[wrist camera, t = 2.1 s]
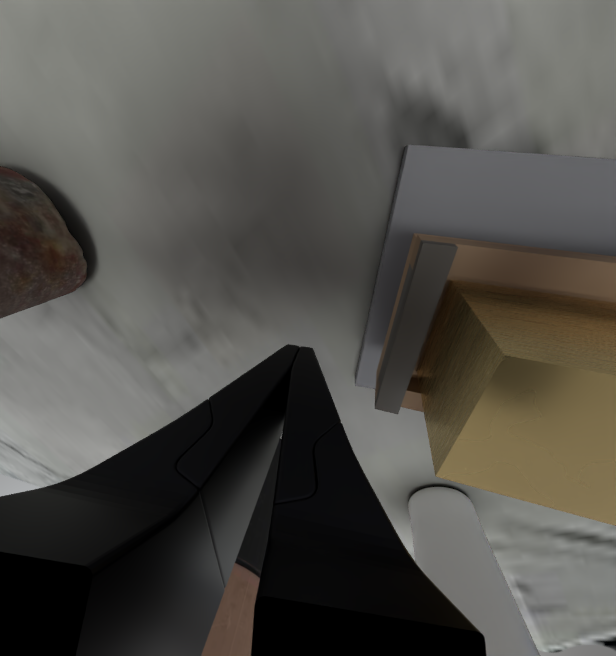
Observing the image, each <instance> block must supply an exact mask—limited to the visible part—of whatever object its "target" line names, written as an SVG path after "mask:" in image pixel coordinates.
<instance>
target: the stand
mask: <svg viewBox="0 0 616 656" xmlns="http://www.w3.org/2000/svg"><path fill="white" fill-rule="evenodd" d="M414 233H418V234H426V235H435V236H443V237H452V238H460V239H469V240H478V241H486V242H495V243H503V244H512V245H520V246H529V247H538V248H546V249H555V250H563V251H572V252H581V253H589V254H598V255H606V256H615V257H616V159H604V158H590V157H576V156H562V155H548V154H534V153H520V152H506V151H492V150H478V149H464V148H450V147H436V146H422V145H407V146H406V147H405V150H404V155H403V160H402V164H401V169H400V173H399V178H398V182H397V187H396V192H395V196H394V201H393V205H392V210H391V215H390V219H389V224H388V228H387V233H386V238H385V242H384V247H383V251H382V256H381V261H380V265H379V270H378V274H377V279H376V284H375V288H374V293H373V297H372V302H371V307H370V311H369V316H368V320H367V325H366V330H365V334H364V339H363V343H362V348H361V353H360V357H359V362H358V366H357V371H356V376H355V386H361V387H367V388H373V389H375V388H376V372H377V368H378V365H379V361H380V357H381V353H382V350H383V346H384V342H385V338H386V335H387V331H388V327H389V324H390V320H391V316H392V312H393V309H394V305H395V301H396V298H397V294H398V290H399V286H400V283H401V279H402V275H403V271H404V268H405V264H406V260H407V257H408V253H409V249H410V245H411V242H412V238H413V234H414Z"/></svg>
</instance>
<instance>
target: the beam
mask: <svg viewBox="0 0 616 656" xmlns="http://www.w3.org/2000/svg"><path fill="white" fill-rule="evenodd" d="M450 279H453V280H459V281H466V282H473V283H480V284H487V285H494V286H501V287H508V288H515V289H522V290H529V291H536V292H543V293H550V294H557V295H564V296H571V297H578V298H585V299H592V300H599V301H606V302H613V303H616V257H615V256H606V255H598V254H589V253H581V252H572V251H563V250H555V249H546V248H538V247H529V246H520V245H512V244H503V243H495V242H486V241H478V240H469V239H460V238H452V237H443V236H435V235H426V234H418V233H414V234H413V238H412V242H411V245H410V249H409V253H408V257H407V260H406V264H405V268H404V271H403V275H402V279H401V283H400V286H399V290H398V294H397V298H396V301H395V305H394V309H393V312H392V316H391V320H390V324H389V327H388V331H387V335H386V338H385V342H384V346H383V350H382V353H381V357H380V361H379V365H378V368H377V372H376V388H375V409H378V410H382V411H386V412H390V413H395V414H398V412H399V410H400V407H404V408H408V409H413V410H417V411H421V412H424V410H423V404H422V398H421V393H420V387H419V382H418V376H417V369H418V366H419V363H420V361H421V358H422V355H423V353H424V350H425V347H426V344H427V342H428V339H429V336H430V334H431V331H432V328H433V325H434V323H435V320H436V317H437V315H438V312H439V309H440V307H441V304H442V301H443V298H444V296H445V293H446V290H447V288H448V285H449V282H450Z"/></svg>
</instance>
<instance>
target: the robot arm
mask: <svg viewBox="0 0 616 656" xmlns="http://www.w3.org/2000/svg"><path fill="white" fill-rule="evenodd" d="M282 431H283V433H282ZM281 434H282V440H281V448H280V455H279V463H278V470H277V477H276V485H275V492H274V500H273V509H272V515H271V522H270V528H269V534H268V541H267V546H266V551H265V556H264V561H263V566H262V571H261V576H260V581H259V586H258V590H257V595H256V600H255V605H254V619H253V633H252V646H251V656H486V645H485V638H484V635H483V634H482V633H481V632H480V631H479V630H478V629H477V628H476V627H475V626H474V625H473V624H472V623H471V622H470V621H469V620H468V619H467V618H466V617H465V615H464V614H463V613H462V612H461V611H460V610H459V609H458V608H457V607H456V606H455V605H454V604H453V603H452V602H451V601H450V600H449V599H448V598H447V597H446V596H445V595H444V594H443V593H442V592H441V591H440V590H439V588H438V587H437V586H436V585H435V584H434V583H433V582H432V581H431V580H430V579H429V578H428V577H427V576H426V575H425V574H424V572H423V571H422V570H421V569H420V567H419V566H418V565H417V564H416V562H415V561H414V560H413V558H412V557H411V555H410V554H409V553H408V551H407V549H406V548H405V546H404V545H403V543H402V541H401V540H400V538H399V536H398V534H397V533H396V531H395V529H394V527H393V525H392V524H391V522H390V520H389V518H388V516H387V514H386V513H385V511H384V509H383V507H382V505H381V503H380V501H379V500H378V498H377V496H376V494H375V492H374V490H373V489H372V487H371V485H370V483H369V481H368V479H367V477H366V476H365V474H364V472H363V470H362V468H361V466H360V464H359V462H358V460H357V458H356V456H355V454H354V452H353V450H352V447H351V445H350V443H349V440H348V438H347V435H346V433H345V430H344V428H343V425H342V423H341V420H340V418H339V415H338V412H337V410H336V407H335V405H334V402H333V399H332V397H331V394H330V392H329V389H328V386H327V384H326V381H325V378H324V376H323V373H322V371H321V368H320V365H319V363H318V360H317V358H316V355H315V352H314V350H313V348H310V347H303V346H302V347H299V346H296V345H289V344H288V345H286V346H284V347H283V348H281V349H280V350H278V351H277V352H275V353H274V354H272V355H271V356H269V357H268V358H267V359H265V360H264V361H262V362H261V363H259V364H258V365H256V366H255V367H253V368H252V369H251V370H249V371H248V372H246V373H245V374H243V375H242V376H240V377H239V378H237V379H236V380H235V381H233V382H232V383H230V384H229V385H227V386H226V387H224V388H223V389H221V390H220V391H218V392H217V393H216V394H214V395H213V396H211V397H210V398H209V400H208V399H207V400H205V401H204V402H202V403H201V404H199V405H198V406H196V407H195V408H193V409H192V410H190V411H189V412H187V413H186V414H184V415H183V416H181V417H180V418H178V419H176V420H175V421H173V422H171V423H170V424H168V425H166V426H165V427H163V428H161V429H160V430H158V431H156V432H155V433H153V434H151V435H149V436H148V437H146V438H144V439H142V440H140V441H139V442H137V443H135V444H133V445H132V446H130V447H128V448H126V449H125V450H123V451H121V452H119V453H118V454H116V455H114V456H112V457H111V458H109V459H107V460H105V461H104V462H102V463H100V464H98V465H97V466H95V467H93V468H91V469H89V470H87V471H85V472H83V473H81V474H79V475H77V476H75V477H72V478H70V479H68V480H65V481H62V482H60V483H57V484H54V485H50V486H47V487H43V488H39V489H35V490H30V491H25V492H20V493H16V494H11V495H6V496H1V497H0V656H201V655H202V652H203V649H204V646H205V644H206V641H207V638H208V635H209V633H210V630H211V627H212V624H213V622H214V619H215V616H216V613H217V611H218V608H219V605H220V602H221V600H222V597H223V594H224V591H225V589H224V588H225V587H226V585H227V583H228V580H229V577H230V574H231V572H232V569H233V566H234V563H235V561H236V558H237V555H238V552H239V550H240V547H241V544H242V541H243V539H244V536H245V533H246V530H247V528H248V525H249V522H250V519H251V516H252V514H253V511H254V508H255V505H256V503H257V500H258V497H259V494H260V492H261V489H262V486H263V483H264V481H265V478H266V475H267V472H268V470H269V467H270V464H271V461H272V459H273V456H274V453H275V450H276V448H277V445H278V442H279V439H280V436H281Z"/></svg>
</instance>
